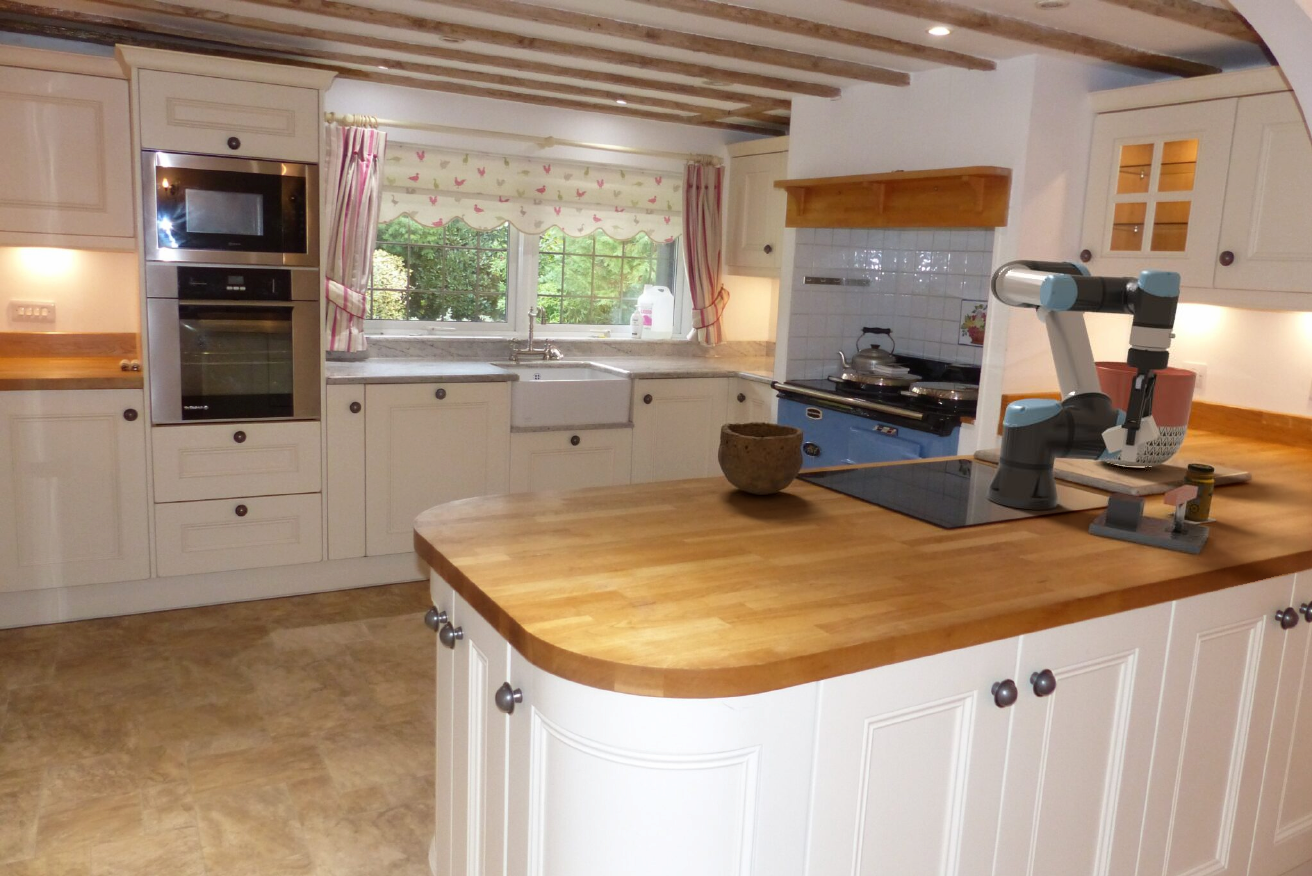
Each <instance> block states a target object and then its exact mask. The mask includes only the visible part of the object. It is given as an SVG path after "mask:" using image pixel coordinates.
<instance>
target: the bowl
mask: <svg viewBox="0 0 1312 876" xmlns="http://www.w3.org/2000/svg"><path fill="white" fill-rule="evenodd" d="M719 437H720V438H719V439H720V441H719V446H718V452H717V461H718V464H719V466H720V469H721V471H722V473H723V475H724V476H725V479H726V480H727V482H729V484H731V485H733V487H735V488H737V489H739V490H740V491H743V492H746V493H749V494H754V495H759V496H761V495H762V496H763V495H765V496H766V495H771V494H775V493H778V492H781V491H783V490H785V489H786V488H788V487H789V486H790V485H791V484H792V483H793V481H794V480H795V479H796V477H797V476H798V475H799V472H800V471H801V469H802V467H803V463H804V457H803V454H802V449H801V448H802V446H803V442H804V431H803V429H801V428H800V427H799V428H798V427H795V426H791V425H782V424H781V425H779V424H777V423H771V422H770V423H769V422H765V421H762V422H759V421H755V422H754V421H751V422H747V423H745V422H744V423H739V422H737V423H724V424H723V425H722V426H721V427H720V436H719Z"/></svg>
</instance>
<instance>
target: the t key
mask: <svg viewBox="0 0 1312 876" xmlns="http://www.w3.org/2000/svg"><path fill="white" fill-rule="evenodd" d="M1197 489H1198V487H1196V486H1190V485H1184V486H1179V487H1177V488H1174V489H1172V490H1169V491H1167V492H1165V493H1164V498H1163V504H1164V505H1168V506H1173V507H1175V509H1174V513H1175V514H1174V513H1173V514H1174V518H1173V520H1172V521H1173V527H1172V530H1175V531H1182V528H1183V523H1185V521H1184V515H1185V509H1186V503H1187V501H1189V500H1191V499H1194V498H1196V496H1197Z"/></svg>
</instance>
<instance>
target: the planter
mask: <svg viewBox="0 0 1312 876" xmlns="http://www.w3.org/2000/svg"><path fill="white" fill-rule="evenodd" d="M1094 362H1095V366H1096V370H1097V374H1098V378H1099V383H1100V387H1101V391H1102V392H1103V393H1105V394H1107V395H1109V397H1110V398H1111V401H1112V405H1113V408H1114V409H1117V408H1119V409H1121V410H1123V411H1125V413H1127V408H1128V403H1129V398H1130V392H1131V386H1132V379H1133V376H1135V375H1136V374H1137V371H1138V368H1136V367H1130V366H1128V365H1127V363H1126V362H1127V361H1108V360H1107V361H1106V360H1105V361H1104V360H1103V361H1094ZM1154 373H1157V377H1156V378H1157V380H1156V384H1155V389H1154V398H1153V406H1152V416H1153V419H1154V421H1155V424H1156V426H1157V429H1158V431H1159V435H1158V437H1157V438H1156V439H1154V440H1151V441H1148V442H1146V446H1145V452H1144V454H1137V457H1136V462H1130V461H1124V460H1121V454H1122V451H1121V453H1120V454H1119V455H1118V456H1117V457H1115V458H1114V459H1111V460H1101V461H1102V462H1104V461H1105V462H1104V463H1106V462H1109V463H1112V464H1119V465H1125V466H1145V467H1146V466H1147V467H1149V466H1155V467H1157V465H1158V466H1160V465H1162V464H1164V463H1166V462H1167V461H1169V460H1170V459H1171V458H1173V457H1174V456H1175V455H1176V454H1177V453H1178V452H1179V450H1180V449H1181V447H1182V445H1183V443H1184V442H1185V441H1184V440H1185V439H1186V434H1187V431H1188V426H1189V422H1190V421H1189V419H1190V415H1191V409H1192V402H1193V397H1194V392H1195V387H1196V381H1197V380H1196V379H1197V373H1196V372H1195V371H1193V370H1188V369H1186V368H1180V367H1174V366H1167V368H1166V369H1164V370H1154Z"/></svg>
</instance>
